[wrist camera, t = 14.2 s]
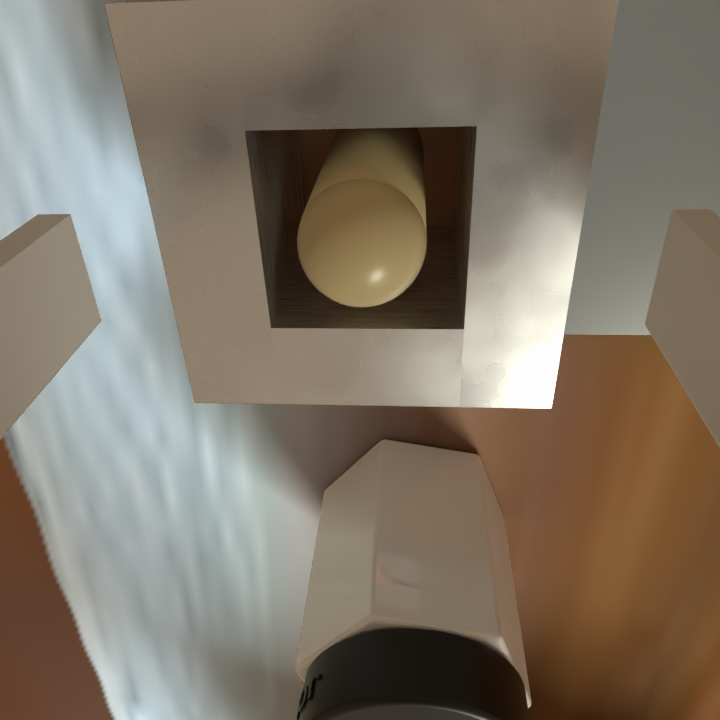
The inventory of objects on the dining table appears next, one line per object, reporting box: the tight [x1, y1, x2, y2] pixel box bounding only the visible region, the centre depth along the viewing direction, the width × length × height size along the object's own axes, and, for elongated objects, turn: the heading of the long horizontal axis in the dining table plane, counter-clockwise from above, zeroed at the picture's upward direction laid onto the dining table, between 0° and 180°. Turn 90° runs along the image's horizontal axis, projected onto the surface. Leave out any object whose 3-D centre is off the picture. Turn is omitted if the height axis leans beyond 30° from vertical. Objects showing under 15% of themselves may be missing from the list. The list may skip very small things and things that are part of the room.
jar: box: [295, 439, 532, 720], centre depth 26 cm, size 9×8×12 cm
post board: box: [297, 0, 720, 335], centre depth 17 cm, size 30×14×10 cm, turn 92°
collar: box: [105, 0, 619, 408], centre depth 18 cm, size 10×10×7 cm
